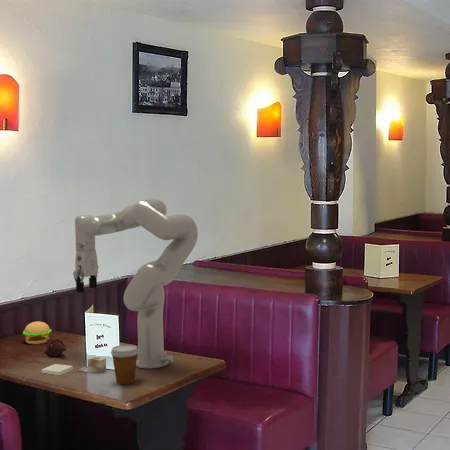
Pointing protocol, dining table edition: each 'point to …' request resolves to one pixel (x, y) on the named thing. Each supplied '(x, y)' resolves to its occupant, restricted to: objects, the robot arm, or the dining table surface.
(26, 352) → the dining table surface
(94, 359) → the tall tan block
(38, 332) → the hamburger
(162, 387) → the dining table surface
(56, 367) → the tile
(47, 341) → the icecream
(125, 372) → the disposable coffee cup
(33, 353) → the dining table surface
